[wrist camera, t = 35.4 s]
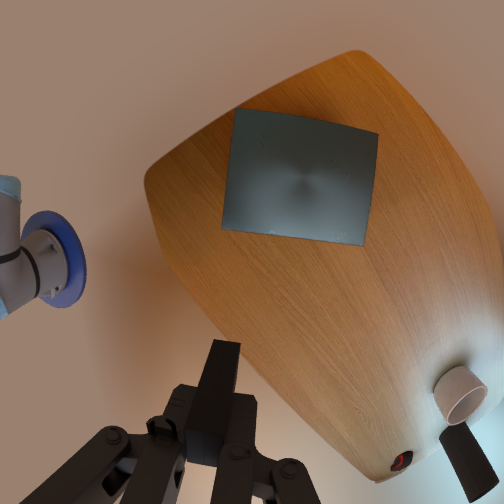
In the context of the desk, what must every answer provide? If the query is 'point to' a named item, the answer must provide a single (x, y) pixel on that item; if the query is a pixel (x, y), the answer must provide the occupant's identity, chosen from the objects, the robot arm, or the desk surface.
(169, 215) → the desk surface
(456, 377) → the planter
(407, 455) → the computer mouse
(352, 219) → the bin lid
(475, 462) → the vase
